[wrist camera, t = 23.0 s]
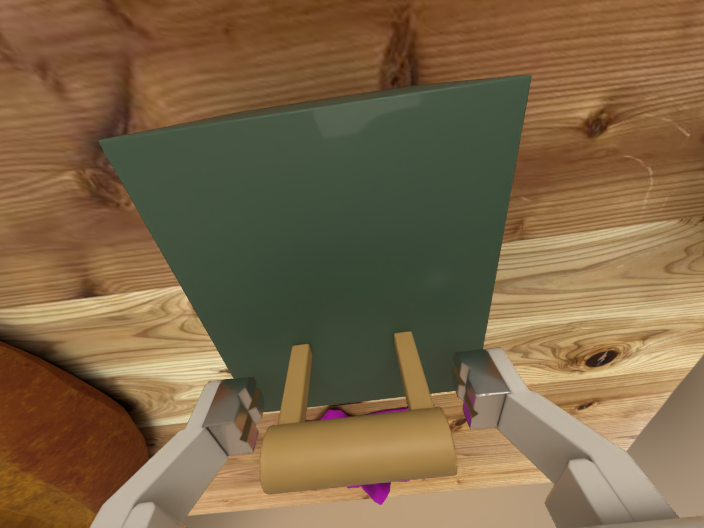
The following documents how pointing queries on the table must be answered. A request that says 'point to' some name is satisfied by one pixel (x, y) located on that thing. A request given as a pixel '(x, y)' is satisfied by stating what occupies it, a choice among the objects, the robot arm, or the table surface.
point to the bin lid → (339, 261)
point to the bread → (59, 445)
